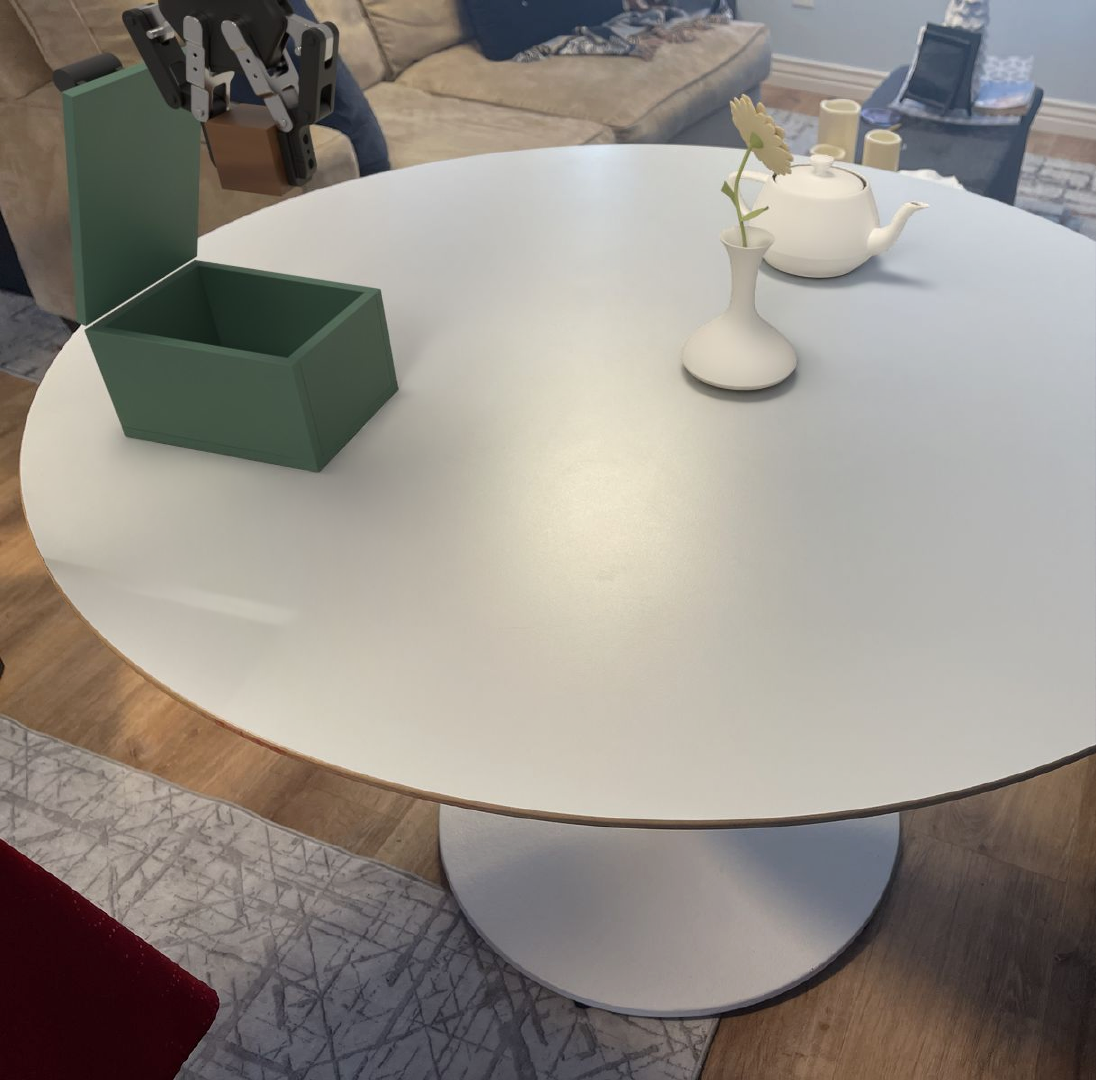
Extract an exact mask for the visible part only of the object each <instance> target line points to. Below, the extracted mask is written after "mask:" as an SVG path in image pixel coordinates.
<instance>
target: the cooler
mask: <svg viewBox="0 0 1096 1080" xmlns="http://www.w3.org/2000/svg"><path fill="white" fill-rule="evenodd" d="M83 331H84V334H85V336H86V339H87V342H88V344H89V346H90V349H91V351H92V354H93V357H94V359H95V361H96V365H97V367H98V369H99V372H100V375H101V377H102V379H103V382H104V385H105V387H106V390H107V393H108V395H109V398H110V400H111V403H112V405H113V408H114V410H115V413H116V416H117V418H118V421H119V423H120V426H121V429H122V431H123V434H124V436H125V437H128V438H134V439H139V440H145V441H149V442H155V443H159V444H160V443H161V444H165V445H170V446H176V447H181V448H186V449H193V450H197V451H203V452H209V453H213V454H217V455H223V456H230V457H235V458H240V459H245V460H251V461H256V462H262V463H266V464H272V465H277V466H283V467H287V468H294V469H298V470H299V469H300V470H304V471H309V472H314V473H320V472H321V471H322V470H323V469H324V467H325V466H327V465H328V463H329V462H330V461H331V460H332V459H333V458H334V457H335V456H336V455H337V454H338V453H339V452H340V450H342V448H344V446H345V445H346V444H348V443H349V441H350V440H351V439H352V438H354V436H355V435H356V434H357V432H359V431H360V429H361V428H362V427H363V426H365V425H366V423H368V422H369V420H370V419H371V418H372V417H373V416H374V415H375V414H376V413H377V412H378V411H379V410H380V409H381V408H382V407H383V406H384V404H385V403H386V402H388V400H389V399H390V398H391V397H392V396H393V395H394V394H395V393H396V392H397V391H398V390H399V384H398V379H397V378H398V377H397V373H396V367H395V362H394V356H393V351H392V346H391V339H390V334H389V329H388V323H387V317H386V311H385V306H384V299H383V295H382V289H381V288H377V287H370V286H365V285H364V286H363V285H358V284H351V283H346V282H345V283H344V282H339V281H338V282H337V281H332V280H326V279H320V278H313V277H308V276H300V275H294V274H290V273H289V274H288V273H281V272H276V271H270V270H269V271H268V270H262V269H257V268H256V269H255V268H251V267H243V266H238V265H230V264H225V263H220V262H219V263H218V262H212V261H205V260H199V259H193V260H191V261H190V262H188V264H187V263H186V264H185V265H183V266H181V267H180V268H178V269H177V270H175V271H173V272H172V273H170V274H169V275H167V276H166V277H164V278H162V279H161V280H159V281H158V282H156V283H155V284H153V285H151V286H150V287H148V288H147V289H145V290H143V291H142V292H140V293H139V294H137V295H136V296H134V297H132V298H131V299H129V300H128V301H126V302H125V303H123V304H121V305H120V306H118V307H117V308H115V309H113V310H112V311H110V312H109V313H107V314H106V315H104V316H102V317H101V318H99V319H98V320H96V321H95V322H93V324H90V325H89V326H87V327H86V328H85V329H84V330H83Z"/></svg>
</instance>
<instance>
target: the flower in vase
mask: <svg viewBox="0 0 1096 1080" xmlns="http://www.w3.org/2000/svg"><path fill="white" fill-rule="evenodd" d="M729 106H730V108H731V109H730V112H731V115H732V118H731V119H732V122H733V125H734V126H735V128H736V129H737V130H738V131H739V135H740V137H741V139H742V140H743V142H745V144H746V147H747V149H746V150H745V151H746V152H745V153H744V156H743V158H742V161H741V164H740V166H739V168H738V170H739V171H738V170H737V171H738V174H737V177H736V180H735V185H734V192H733V190H732V189H731V188H730V186H729V185H728V183H727V182H728V181H726V180H724V182H723V185H722V187H721V188H720V192H722V193H723V194H724V195H726V196H727V197H728V198H729V199H730V200H731V202H732V204H733V203H734V204H733V206H734V205H735V206H736V207H735V206H734V207H735V209H736V213H737V218H738V222H739V225H738V226H737V225H735V226H730V227H727V228H725V229H723V230H721V231H720V233H719V235H718V239H719V240H720V242H721V243H722V245H723V246H724V248H725V250H726V252H727V255H728V258H729V264H730V273H731V276H730V277H731V291H730V299H729V304H728V307H727V308H726V310H725V311H724V312H723V313H722V314H720V315H718V316H717V317H715V318H713V319H711V320H709V321H708V322H705V323H704V324H703V325H701V326H699V327H698V328H697V329H695V330H694V331H693V332H692V333H691V334H689V336H688V337H686V339H685V340H684V342H683V345H682V347H681V349H680V353H679V356H680V361H681V363H682V364H683V366H684V367H685V369H686V370H687V371H688V372H689V373H690V375H691V376H693V377H694V378H696V379H697V380H699V381H701V382H702V383H705V384H707V385H709V386H712V387H715V388H721V389H725V390H734V391H752V390H753V391H754V390H762V389H766V388H769V387H773V386H776V385H778V384H779V383H782V382H783V381H785V380H786V379H787V378H788V377H789V376H790V375H791V374H792V373H793V372H794V370H795V369H796V366H797V363H798V359H797V354H796V351H795V348H794V346H793V344H792V343H791V342H790V341H789V340H788V339H787V337H786V336H785V335H784V334H783V332H781V331H780V330H779V329H778V328H776V327H774V326H773V325H772V324H771V323H769V322H768V321H766V320H765V319H764V318H763V317H762V316H761V315H760V314H759V312H758V310H757V309H756V287H757V285H756V284H757V280H758V274H759V269H760V266H761V262H762V261H763V259H764V258H763V256H764V254H765V253H766V251H767V250H768V248H769V247H770V246H771V245H772V244H773V243H774V241H775V237H774V236H773V234H771V233H770V232H768V231H766V230H764V229H761V228H757V227H751V226H748V225H744V222H747V220H750V219H752V218H754V217H756V216H758V215H759V214H761V213H762V212H764V211H766V210H768V209H769V207H768V206H767V207H766V208H761V209H758V210H755V211H753V212H750V213H748V214H747V215H745V216H744V217H743V216H742V215H741V211H740V206H739V201H738V184H740V180H741V179H740V177H741V174H742V171H743V170H745V169H744V168H745V166H746V163H747V162H748V158H749V157H750V154H751V152H753V154H754V156H755V157H756V159H757V160H758V161H759V162H762V164H763V166H765V168H767V169H768V170H769V171H772V172H774V173H775V174H777V175H780V174H781V175H783V176H785V175H786V173H787V174H791V173H792V171H791V169H790V166H791V164H792V162H793V163H794V161H795V159H794V156H793V155H792V153H790V150H791V149H790V146H789V143H787V142H785V140H783V139H785V137H786V132H785V130H784V128H783V127H781V126H779V125H776V124H775V120H774V119H773V117H772V116H770V115H767V109H766V107H765V105H764V104H763V102H761V101H759V102H757V104H756V108H755V105H754V104H753V101H752V99H751V97H749V95H746V94H745V93H742V94H741V97H740V98H739V99H738V98H737V97H736V96H734V97H733V101H732V100H729Z"/></svg>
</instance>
